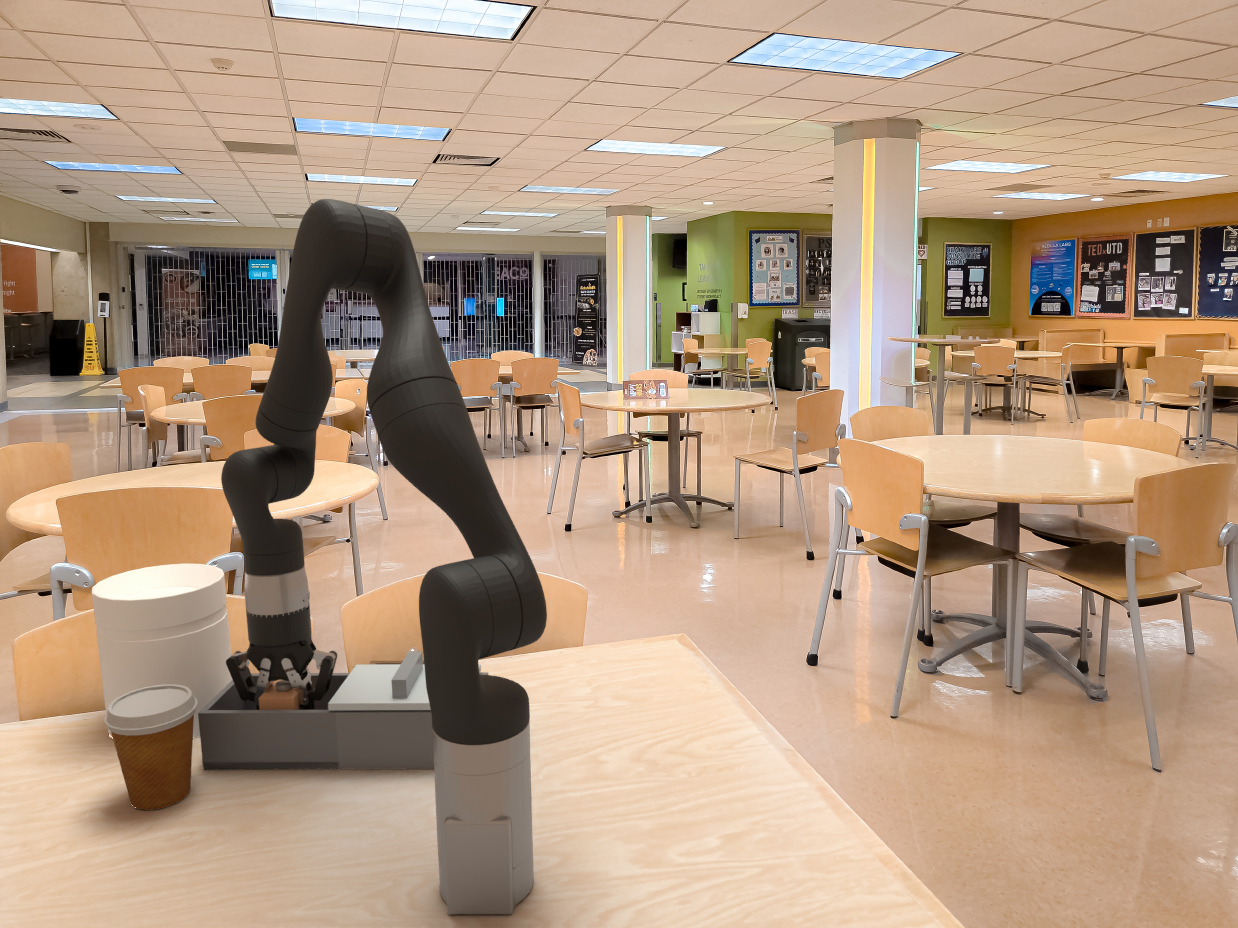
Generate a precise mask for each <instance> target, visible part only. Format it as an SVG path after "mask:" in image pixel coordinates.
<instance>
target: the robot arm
mask: <svg viewBox="0 0 1238 928" xmlns="http://www.w3.org/2000/svg"><path fill="white" fill-rule="evenodd" d="M293 246H294V247H293V250H292V256H291V261H290V267H289V273H288V278H287V279H288V280H287V285H286V291H285V297H284V302H283V309H282V315H281V316H282V318H281V324H280V331H279V336H278V337H279V338H278V343H277V348H276V353H275V357H274V361H273V363H272V364H273V365H272V368H271V371H270V373H269V377H268V379H267V383H266V385H265V388H264V390H263V394H262V396H261V399H260V403H259V406H258V408H257V412H256V416H255V427H256V428H255V429H256V431H257V432H258V434H259V435H260V436H261V437H262V438H263V439H264V440H265V441H268V442H270V443H271V445H266V446H265V445H264V446H260V447H253V448H246V449H241V450H240V449H239V450H238V451H235V452H233V453H231V454H230V455H229V456H228V457H227V459H226V460H225V462H224V464H223V467H222V469H221V474H220V475H221V477H220V478H221V479H220V481H221V487H222V491H223V493H224V496H225V499H226V501H227V504H228V507H229V509H230V511H231V513H232V516H233V519H234V522H235V524H236V528H237V529H238V532H239V535H240V538H241V542H242V552H243V562H244V563H243V564H244V586H243V587H244V591H243V592H244V601H245V613H246V624H247V625H246V627H247V636H248V637H247V638H248V643H249V645H248V648H247V649H246V651H240V650H237V651H235V652H233V654H231V656H230V657H229V658H228V659H227V660H226V665H227V667H228V670H229V672H230V675H231V677H232V679H233V682H234V684H235V687H236V689H237V691H238V694H239V696H240V698H241V699H242V700H243V701H246V700H250V701H253V702H254V703H255V704H256V707H257V710H260V709H259V697H260V696H261V695H262V694H263V693H266V692H267V690H268V688H269V687H270V686H273V683H274V681H277V680H285V681H290V683H291V686H292V688H293V690H295V691H296V693H298V698H299V701H300V703H301V704H300V706H299V708H300V710H315V705H314V701H315V700H317V701H319V700H321V699H322V698H323V697H324V695H325V694H326V693H327V691H328V690H329V686H330V682H331V679H332V675H333V673H334V672H335V668H336V663H337V658H338V653H337V651H336V650H331V651H329V652H326V651H322V650H319V649H317V646H316V645H315V643H314V641H313V639H312V622H311V621H312V620H311V606H310V605H311V604H310V599H311V598H310V597H311V594H310V590H309V581H308V575H307V572H306V565H305V563H306V562H305V553H304V551H305V550H304V540H303V538H304V537H303V532H302V531H303V530H302V528H301V525H300V524H299V523H298V522H297V521H295V520H293V519H288V518H274V517H273V515H272V513H271V511H270V509H269V505H270V504H274V503H278V502H282V501H287V500H292V499H294V498H298V497H299V496H301V495H302V494H304V492H305V491H306V490H307V489H308V488H309V486H310V485H311V484H312V482H313V479H314V476H315V467H316V465H315V463H316V449H317V431H318V429H319V426H320V424H321V422H322V419H323V416H324V413H325V411H326V408H327V406H328V403H329V400H330V397H331V395H332V389H333V382H334V373H333V368H332V363H331V359H330V355H329V351H328V348H327V346H326V341H325V338H324V337H325V336H324V333H323V327H322V315H323V310H324V305H325V303H326V301H327V298H328V295H329V294H330V293H331V290H340V291H345V292H354V293H359V294H367V295H368V296H369V298H371V299H372V301H373V302H374V305H375V307H376V310H377V313H378V316H379V320H380V323H381V324H380V325H381V327H382V339H381V342H380V344H379V347H378V350H377V353H376V355H375V358H374V361H373V364H372V367H371V369H370V372H369V377H368V379H367V385H366V402H367V403H366V404H367V406H368V410H369V413H370V417H371V419H372V423H373V425H374V428H375V431H376V434H377V438H378V440H379V444H380V445H381V446H380V447H381V448H382V450H383V453H384V455H385V457H386V459H387V460H388V461H389V463H390V464H391V466H393V468H395V470H396V471H397V472H398V473H399V474H400V475H402V477H404V479H405V480H406V481H408V482H409V483H410V484H411V485H412V486H414V487H415V489H417V490H418V492H420V493H421V494H422V495H424V496H425V497H426V498H427V499H429V500H430V501H431V502H432V503H433V504H435V505H436V506H437V507H438V508H439V509H440V510H442V511H443V512H444V513H445V514H446V516H448V518H449V519H451V521H452V522H453V523H454V526H456V527H457V529H458V530H459V532H460V534H461V535H462V537H463V539H464V541H465V542H466V545H467V546H468V549H469V551H470V553H471V555H472V557H473V558H468V559H463V560H459V561H454V562H450V563H445V564H440V565H437V566H434V567H432V568H431V569H429V570H428V571H427V572H426V573H425V574H424V576H423V579H422V581H421V583H420V586H419V593H418V615H419V627H420V628H419V629H420V636H421V643H422V644H421V645H422V656H423V661H424V665H425V679H426V689H427V694H428V699H429V704H430V708H431V714H432V732H433V754H434V756H433V757H434V769H433V775H434V776H433V777H434V795H435V797H434V798H435V817H436V818H435V819H436V839H437V840H436V841H437V857H438V858H437V859H438V875H439V877H438V880H439V893H440V895H441V898H442V899H443V901H444V902H445V903H446V908H447V909H446V910H447V914H448V915H511V914H513V913H514V909H515V907H516V906H517V904H519V903H520V902H521V901H523V900H524V899H525V898H526V897H527V896H528V895H529V893H530V892H531V890H532V888H533V885H534V880H535V879H534V874H535V872H534V843H533V842H534V841H533V840H534V839H533V812H532V811H533V810H532V809H533V807H532V806H533V805H532V801H533V800H532V771H531V770H532V769H531V767H532V766H531V732H530V731H531V725H530V723H531V722H530V718H531V715H530V712H531V711H530V699H529V695H528V692H527V690H526V689H525V688H524V687H523V686H522V685H521V684H520V683H518V682H516V681H514V680H512V679H509V678H507V677H502V676H498V675H491V674H489V675H481V674H479V665H478V664H479V660H481V659H486V658H489V657H493V656H495V655H499V654H503V653H507V652H510V651H514V650H516V649H520V648H524V647H526V646H529V645H532V644H534V643H535V642H537V641H539V640H540V639H541V638H542V636H543V634H544V632H545V629H546V627H547V620H548V611H547V601H546V598H545V592H544V589H543V586H542V583H541V582H542V581H541V579H540V577H539V574H538V572H537V569H536V567H535V564H534V563H533V560H532V558H531V557H530V554H529V552H528V550H527V548H526V545H525V543H524V542H523V540H522V538H521V536H520V533H519V532H518V529H517V527H516V525H515V523H514V521H513V520H512V518H511V515H510V514H509V511H508V509H507V507H506V506H505V503H504V502H503V499H502V497H501V495H500V493H499V490H498V488H497V486H496V484H495V482H494V479H493V477H492V474H491V472H490V469H489V466H488V464H487V462H486V459H485V457H484V454H483V451H482V449H481V446H480V444H479V440H478V438H477V435H476V432H475V429H474V426H473V423H472V420H471V417H470V414H469V412H468V409H467V406H466V402H465V400H464V397H463V395H462V393H461V389H460V388H459V385H458V383H457V380H456V378H455V376H454V373H453V371H452V369H451V366H450V364H449V360H448V359H447V356H446V353H445V349H444V347H443V345H442V341H441V339H440V336H439V333H438V330H437V328H436V324H435V321H434V319H433V316H432V312H431V309H430V305H429V302H428V298H427V294H426V289H425V286H424V282H423V278H422V274H421V269H420V266H419V262H418V259H417V256H416V251H415V248H414V245H413V242H412V238H411V236H410V234H409V232H408V230H407V228H406V225H404V223H403V222H402V221H401V219H400V218H399V217H397V216H396V215H394V214H392V213H390V212H388V211H386V210H382V209H379V208H373V207H370V206H364V205H360V204H355V203H351V202H347V201H343V200H338V199H334V198H322V199H321V198H320V199H318V200H316V201H315V202H313V203H312V204H310V205H309V207H308V208H307V210H306V211H305V212H304V214H303V216H302V219H301V221H300V223H299V227H298V230H297V233H296V237H295V241H294V245H293ZM313 660H314V661H315V667H316V669H317V670H319V672H318V673H319V675H318V679H317V683H316V687H315V688H314V687H313V685H312V682H311V674H310V673H311V672H310V670H309V664H310V663H311V662H312V661H313ZM250 663H251V664H252V665H253V667H255V669H256V670H257V671H258V673H259V677H258V681H257V685H256V684H255V682H254V680H253V677H252V675H251V669H250V668H249V666H250Z"/></svg>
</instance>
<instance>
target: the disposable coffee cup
mask: <svg viewBox="0 0 1238 928" xmlns="http://www.w3.org/2000/svg"><path fill="white" fill-rule="evenodd" d="M197 705H198V701H197V699H196V698H195V697H194V696H193V693H192V691H191V690H190V689H189V688H188V687H186V686H182V685H173V684H165V685H155V686H149V687H144V688H140V689H137V690H134V691H131V692H128V693H126V694H123V695H121V696H120V697H118V698H116V699H115V700H114V701H112V702H111V703H110V705H109V706H108V713H107V715H106V714H105V716H104V724H105V726H106V727H107V729H108V728H109V730H110V731H111V733H112V736H113V740H112V741H113V743H114V747H115V750H116V755H117V758H118V761H119V765H120V770H121V773H122V776H123V777H122V778H123V780H124V783H125V788H126V791H127V795H128V798H129V801H130V802H131V803H130V805H131V804H132V805H133V806H134V807H136V808H138V809H137V810H140V809H146V810H145V811H152V810H151V809H155V810H159V809H160V808H161V809H163V808H167V807H170V806H173V805H175V804H177V803H179V802H181V801H182V800H184V799H185V798H186V797H188V795H189V794H190V793H191V786H192V784H191V782H192V763H193V762H192V760H193V759H192V758H193V744H194V743H193V739H194V738H193V720H194V713H195V710H196V708H197ZM132 805H131V806H132ZM133 806H132V807H133ZM134 807H133V808H134ZM136 808H135V809H136ZM161 809H160V810H161Z"/></svg>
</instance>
